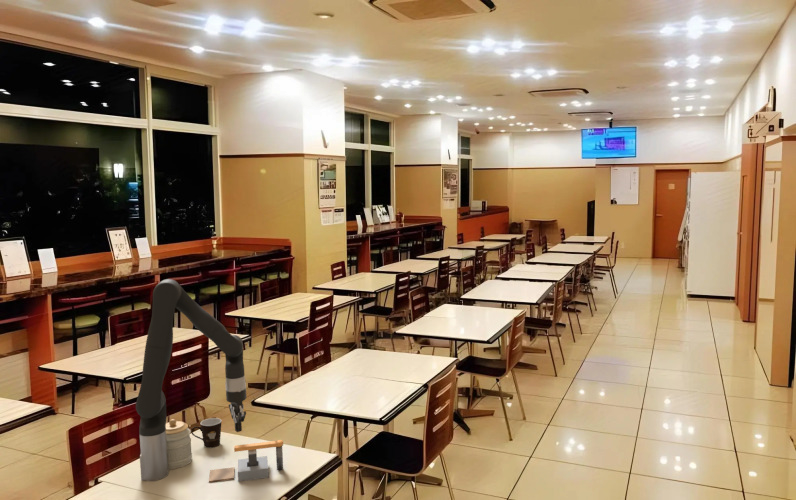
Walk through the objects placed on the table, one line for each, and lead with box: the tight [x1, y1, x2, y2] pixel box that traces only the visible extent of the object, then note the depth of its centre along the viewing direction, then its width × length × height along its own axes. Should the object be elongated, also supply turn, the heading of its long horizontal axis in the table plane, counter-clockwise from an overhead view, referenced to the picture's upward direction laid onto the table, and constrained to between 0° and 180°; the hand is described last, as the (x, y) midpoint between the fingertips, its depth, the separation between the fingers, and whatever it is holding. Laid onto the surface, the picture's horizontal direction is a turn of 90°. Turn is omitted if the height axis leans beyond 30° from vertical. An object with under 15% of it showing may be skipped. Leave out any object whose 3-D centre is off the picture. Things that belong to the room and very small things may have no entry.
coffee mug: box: [190, 417, 222, 449], centre depth 259 cm, size 12×9×10 cm
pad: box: [208, 466, 235, 483], centre depth 231 cm, size 9×9×1 cm
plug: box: [247, 449, 258, 467], centre depth 232 cm, size 3×3×9 cm
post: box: [275, 446, 284, 472], centre depth 235 cm, size 2×2×9 cm
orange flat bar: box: [233, 439, 284, 453], centre depth 232 cm, size 18×3×1 cm, turn 104°
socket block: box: [237, 455, 270, 482], centre depth 233 cm, size 11×11×4 cm
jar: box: [166, 418, 193, 470], centre depth 242 cm, size 13×13×18 cm
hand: (238, 431), depth 237 cm, fingers closed
